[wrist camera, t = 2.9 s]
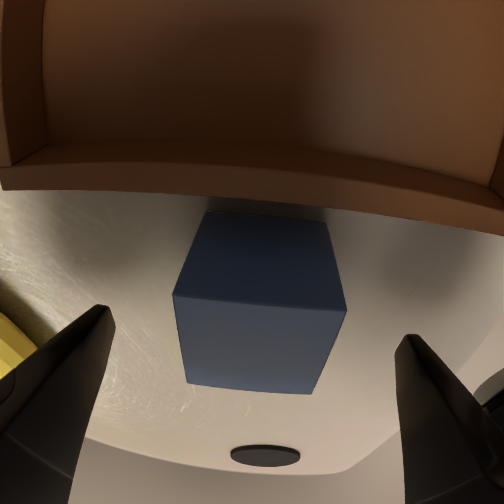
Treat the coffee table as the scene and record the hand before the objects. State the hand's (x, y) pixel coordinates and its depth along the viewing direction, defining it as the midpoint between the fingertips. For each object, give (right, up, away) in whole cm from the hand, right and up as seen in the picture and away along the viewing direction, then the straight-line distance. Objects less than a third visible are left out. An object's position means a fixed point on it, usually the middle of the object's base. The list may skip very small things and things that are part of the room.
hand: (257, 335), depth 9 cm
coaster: (+1, -16, +15) cm, 23 cm away
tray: (+2, +23, -13) cm, 27 cm away
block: (0, +2, +3) cm, 3 cm away
